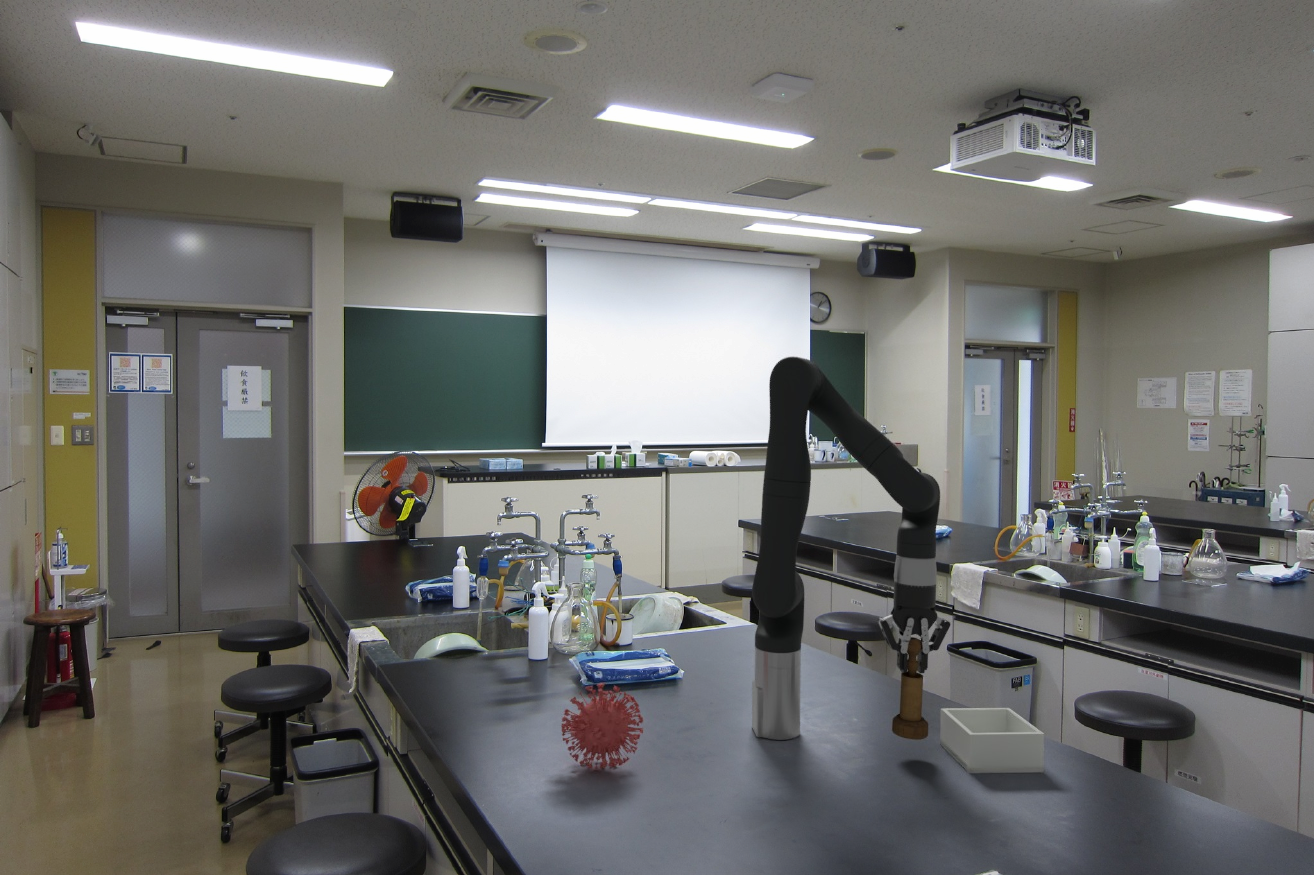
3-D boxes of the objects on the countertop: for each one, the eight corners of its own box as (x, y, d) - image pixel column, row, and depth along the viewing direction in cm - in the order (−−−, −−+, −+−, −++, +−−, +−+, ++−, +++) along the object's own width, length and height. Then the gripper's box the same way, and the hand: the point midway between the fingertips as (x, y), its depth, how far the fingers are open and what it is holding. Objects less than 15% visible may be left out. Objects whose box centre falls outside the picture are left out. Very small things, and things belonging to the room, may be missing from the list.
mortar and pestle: (929, 741, 156) (933, 644, 155) (893, 738, 157) (896, 641, 156) (926, 728, 162) (929, 634, 162) (890, 725, 164) (893, 632, 163)
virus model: (653, 757, 158) (654, 677, 158) (624, 790, 144) (625, 703, 144) (581, 746, 163) (581, 669, 163) (546, 777, 149) (546, 693, 149)
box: (969, 773, 152) (969, 734, 152) (940, 744, 166) (940, 708, 166) (1043, 772, 153) (1044, 733, 153) (1008, 743, 166) (1008, 708, 166)
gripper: (884, 583, 155) (881, 678, 155) (960, 584, 155) (956, 678, 156) (872, 575, 162) (869, 665, 163) (944, 576, 163) (941, 666, 163)
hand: (912, 671), depth 159 cm, fingers closed on mortar and pestle, 2 cm apart
